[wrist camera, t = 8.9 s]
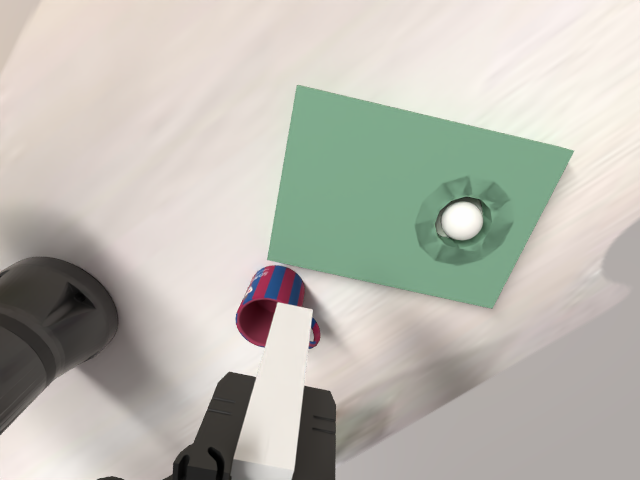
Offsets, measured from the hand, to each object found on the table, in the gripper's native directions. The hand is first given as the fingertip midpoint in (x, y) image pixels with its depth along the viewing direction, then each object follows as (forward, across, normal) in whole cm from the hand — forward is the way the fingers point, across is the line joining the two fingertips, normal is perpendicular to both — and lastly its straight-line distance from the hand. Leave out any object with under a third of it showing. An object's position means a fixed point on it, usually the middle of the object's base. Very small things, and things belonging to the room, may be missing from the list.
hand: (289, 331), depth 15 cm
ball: (+24, +14, 0) cm, 28 cm away
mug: (+24, -1, -15) cm, 29 cm away
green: (+24, +9, 0) cm, 26 cm away
